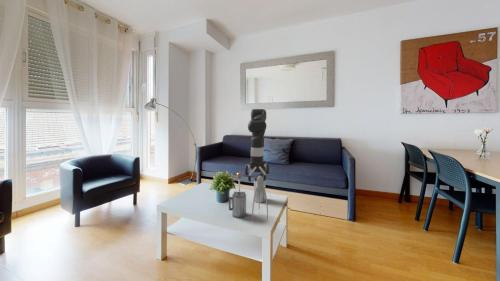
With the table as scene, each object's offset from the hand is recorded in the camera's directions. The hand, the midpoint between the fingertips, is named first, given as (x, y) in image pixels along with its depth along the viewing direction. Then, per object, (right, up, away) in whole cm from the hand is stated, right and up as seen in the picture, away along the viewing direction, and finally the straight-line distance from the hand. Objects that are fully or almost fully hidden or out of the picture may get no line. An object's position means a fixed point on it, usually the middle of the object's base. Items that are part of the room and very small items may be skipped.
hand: (256, 181), depth 122 cm
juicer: (+2, -29, +17) cm, 33 cm away
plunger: (-12, -16, +19) cm, 27 cm away
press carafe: (-13, -28, +21) cm, 37 cm away
